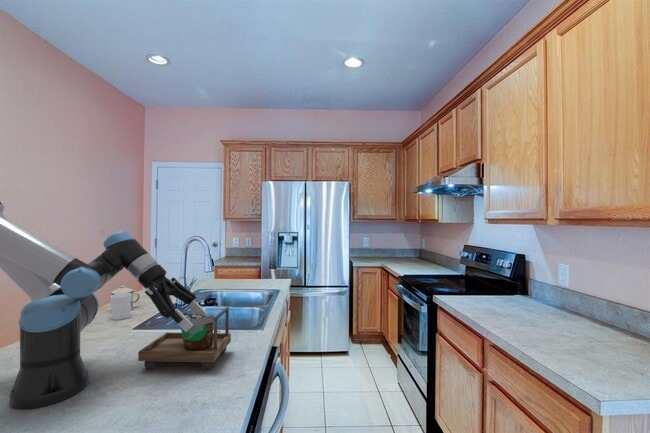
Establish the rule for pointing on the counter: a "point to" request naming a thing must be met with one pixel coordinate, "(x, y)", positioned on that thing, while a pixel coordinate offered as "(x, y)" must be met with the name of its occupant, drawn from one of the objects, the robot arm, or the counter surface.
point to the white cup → (121, 306)
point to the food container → (198, 332)
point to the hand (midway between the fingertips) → (197, 322)
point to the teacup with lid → (126, 290)
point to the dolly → (173, 349)
